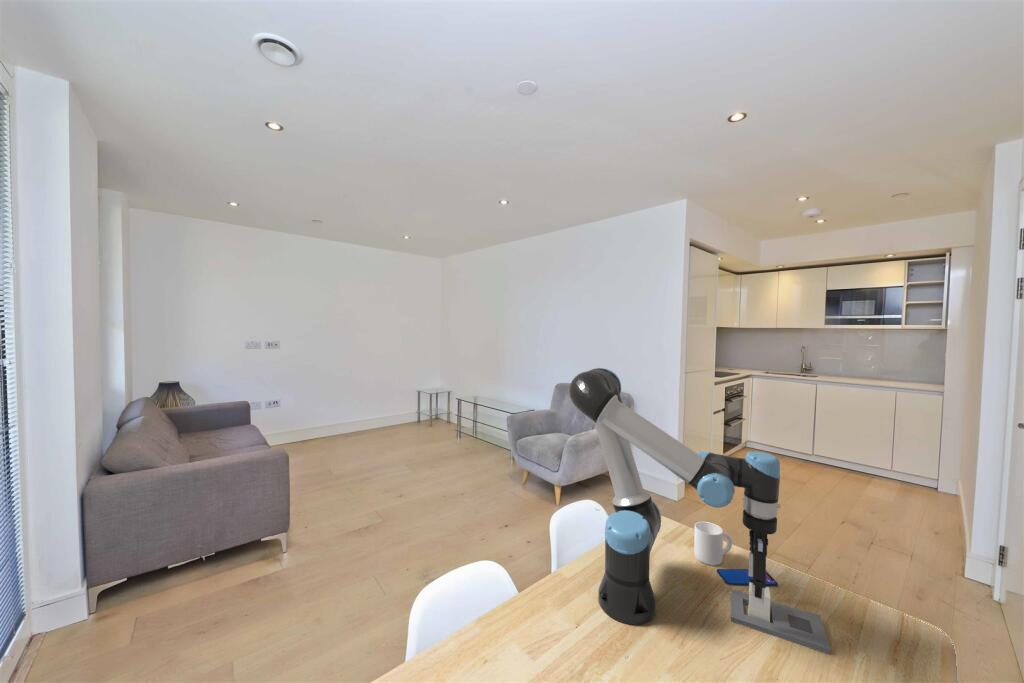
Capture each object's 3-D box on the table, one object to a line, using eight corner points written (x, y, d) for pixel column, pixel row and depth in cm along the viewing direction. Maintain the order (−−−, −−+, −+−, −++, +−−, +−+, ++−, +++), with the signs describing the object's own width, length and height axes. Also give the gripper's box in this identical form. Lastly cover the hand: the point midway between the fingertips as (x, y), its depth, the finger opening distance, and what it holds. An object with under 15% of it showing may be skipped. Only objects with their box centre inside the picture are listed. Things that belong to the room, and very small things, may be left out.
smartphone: (715, 568, 120) (764, 569, 119) (715, 571, 120) (764, 571, 119) (727, 584, 113) (779, 585, 112) (727, 587, 113) (779, 587, 112)
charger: (748, 617, 100) (749, 591, 100) (748, 607, 104) (749, 581, 104) (769, 624, 98) (770, 597, 97) (768, 613, 102) (769, 587, 101)
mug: (724, 550, 130) (725, 521, 129) (739, 566, 121) (740, 534, 121) (689, 551, 130) (690, 521, 129) (702, 566, 121) (702, 534, 121)
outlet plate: (731, 621, 99) (731, 616, 99) (731, 593, 109) (731, 588, 109) (830, 654, 89) (830, 649, 89) (819, 619, 99) (820, 615, 99)
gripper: (783, 540, 87) (777, 629, 88) (772, 497, 109) (768, 570, 110) (744, 530, 91) (739, 616, 92) (742, 491, 112) (738, 561, 114)
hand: (755, 591), depth 101 cm, fingers open, 13 cm apart
